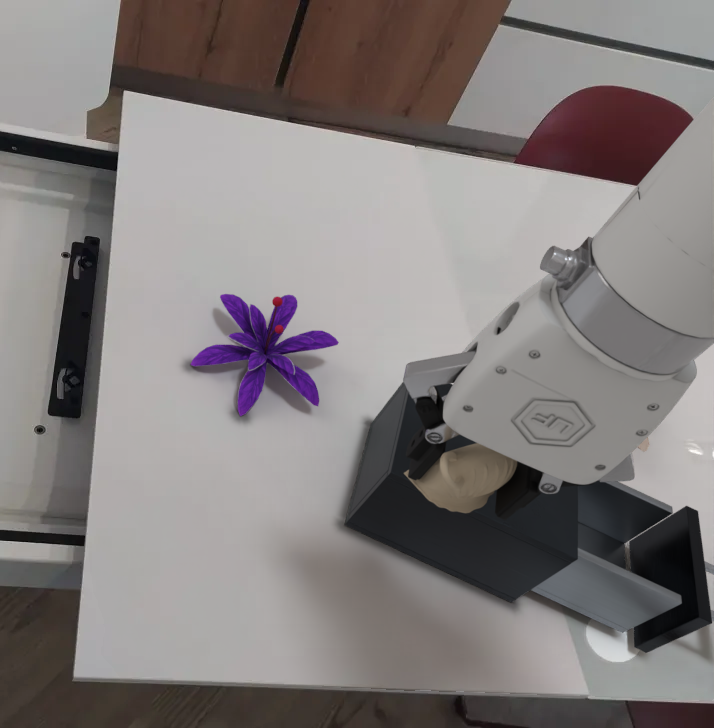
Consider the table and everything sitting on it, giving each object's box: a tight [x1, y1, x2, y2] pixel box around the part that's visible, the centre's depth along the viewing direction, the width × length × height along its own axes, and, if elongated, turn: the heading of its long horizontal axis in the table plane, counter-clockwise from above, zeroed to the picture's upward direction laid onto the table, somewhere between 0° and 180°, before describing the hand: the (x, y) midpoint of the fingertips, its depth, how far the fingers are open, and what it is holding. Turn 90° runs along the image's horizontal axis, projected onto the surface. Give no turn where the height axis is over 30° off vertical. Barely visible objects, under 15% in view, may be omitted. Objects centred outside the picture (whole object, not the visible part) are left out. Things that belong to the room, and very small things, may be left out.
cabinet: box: [344, 381, 578, 603], centre depth 67 cm, size 17×13×10 cm
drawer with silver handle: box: [530, 480, 714, 654], centre depth 67 cm, size 23×11×8 cm, turn 71°
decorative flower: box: [190, 293, 339, 417], centre depth 72 cm, size 14×15×7 cm
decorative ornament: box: [404, 443, 517, 513], centre depth 49 cm, size 4×8×5 cm, turn 112°
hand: (458, 480), depth 51 cm, fingers closed on decorative ornament, 5 cm apart
